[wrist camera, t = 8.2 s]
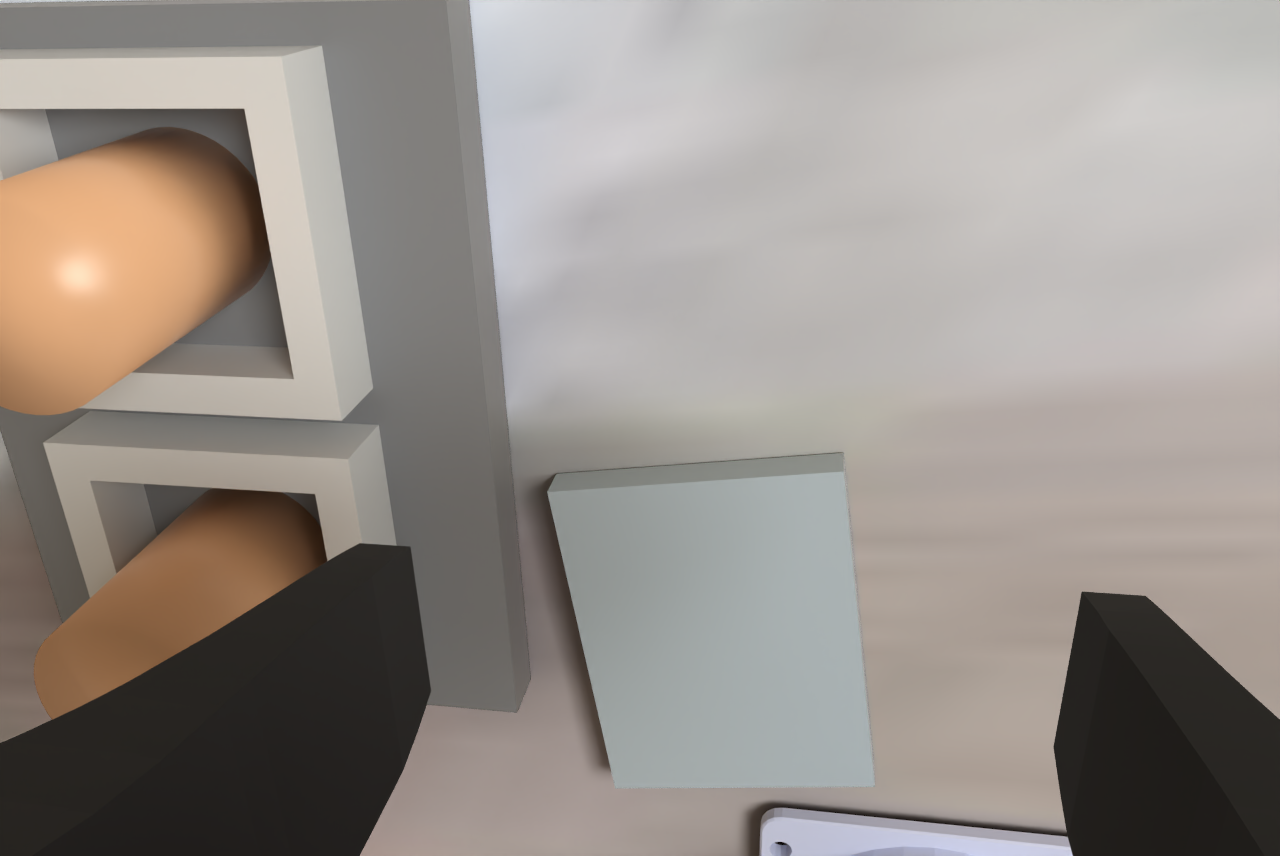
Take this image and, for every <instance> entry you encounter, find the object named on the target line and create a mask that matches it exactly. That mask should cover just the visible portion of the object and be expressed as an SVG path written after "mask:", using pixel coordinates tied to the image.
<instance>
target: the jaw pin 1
mask: <svg viewBox="0 0 1280 856" xmlns="http://www.w3.org/2000/svg"><path fill="white" fill-rule="evenodd" d="M270 258H271V251H270V246H269V240H268V235H267V229H266V224H265V219H264V213H263V208H262V202H261V197H260V191H259V186H258V184H257V182H256V181H255V179H254V177H253V176H252V175H251V173H250V172H249V171H248V170H247V168H246V167H245V166H244V165H243V164H242V163H241V162H240V161H239V159H238V158H237V157H236V156H234V155H233V154H232V153H231V152H230V151H228V150H227V149H226V148H225V147H223V146H222V145H220V144H219V143H217V142H216V141H214V140H212V139H210V138H208V137H206V136H204V135H202V134H199V133H197V132H194V131H191V130H186V129H182V128H175V127H158V128H152V129H147V130H144V131H142V132H139V133H136V134H133V135H130V136H127V137H124V138H121V139H119V140H116V141H113V142H110V143H107V144H104V145H101V146H98V147H96V148H93V149H90V150H87V151H84V152H81V153H78V154H75V155H73V156H70V157H67V158H64V159H61V160H58V161H55V162H53V163H50V164H47V165H44V166H41V167H38V168H35V169H32V170H30V171H27V172H24V173H21V174H18V175H15V176H12V177H9V178H7V179H4V180H1V181H0V406H1V407H3V408H6V409H9V410H12V411H16V412H20V413H25V414H32V415H55V414H62V413H66V412H69V411H73V410H75V409H77V408H79V407H81V406H84V405H85V404H86V403H88V402H89V401H91V400H92V399H94V398H95V397H97V396H98V395H99V394H101V393H102V392H104V391H105V390H107V389H108V388H110V387H111V386H112V385H114V384H115V383H117V382H118V381H120V380H121V379H123V378H124V377H125V376H127V375H128V374H130V373H131V372H133V371H134V370H136V369H137V368H139V367H140V366H141V365H143V364H144V363H146V362H147V361H149V360H150V359H152V358H153V357H154V356H156V355H157V354H159V353H160V352H162V351H163V350H165V349H166V348H167V347H169V346H170V345H172V344H173V343H175V342H176V341H178V340H179V339H180V338H182V337H183V336H185V335H186V334H188V333H189V332H191V331H192V330H193V329H195V328H196V327H198V326H199V325H201V324H202V323H204V322H205V321H207V320H208V319H209V318H211V317H212V316H214V315H215V314H217V313H218V312H220V311H221V310H222V309H224V308H225V307H227V306H228V305H230V304H231V303H233V302H234V301H235V300H237V299H238V298H240V297H241V296H243V295H244V294H246V293H247V292H248V291H250V290H251V289H252V288H253V287H254V286H255V285H256V284H257V283H258V282H259V280H260V279H261V277H262V276H263V274H264V272H265V270H266V269H267V267H268V264H269V261H270Z"/></svg>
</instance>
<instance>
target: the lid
mask: <svg viewBox="0 0 1280 856" xmlns="http://www.w3.org/2000/svg"><path fill="white" fill-rule="evenodd" d="M547 493H548V498H549V502H550V506H551V511H552V515H553V520H554V524H555V528H556V533H557V537H558V541H559V546H560V550H561V554H562V559H563V563H564V567H565V572H566V576H567V580H568V585H569V589H570V594H571V598H572V602H573V607H574V611H575V615H576V620H577V624H578V628H579V633H580V637H581V641H582V646H583V650H584V654H585V659H586V663H587V668H588V672H589V676H590V681H591V685H592V689H593V694H594V698H595V702H596V707H597V711H598V715H599V720H600V724H601V728H602V733H603V737H604V742H605V746H606V750H607V755H608V759H609V763H610V768H611V772H612V776H613V781H614V785H615V788H763V787H875V778H874V758H873V748H872V738H871V728H870V718H869V708H868V697H867V687H866V677H865V667H864V657H863V646H862V636H861V626H860V616H859V606H858V595H857V585H856V575H855V565H854V555H853V545H852V534H851V524H850V514H849V504H848V494H847V483H846V473H845V463H844V453H833V454H819V455H806V456H792V457H778V458H765V459H751V460H738V461H724V462H710V463H697V464H683V465H669V466H656V467H642V468H629V469H615V470H601V471H588V472H574V473H560V474H556V475H555V477H554V479H553V481H552V484H551V486H550V488H549V490H548V492H547Z"/></svg>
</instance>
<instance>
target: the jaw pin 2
mask: <svg viewBox="0 0 1280 856" xmlns="http://www.w3.org/2000/svg"><path fill="white" fill-rule="evenodd" d="M325 562H327V556H326V550H325V545H324V540H323V534H322V529H321V526H320V525H319V524H318V522H317V521H316V520H315V518H314V517H313V516H312V515H311V514H310V513H309V512H308V511H307V510H306V509H305V508H304V507H303V506H302V505H300V504H299V503H298V502H296V501H295V500H294V499H292V498H291V497H289V496H287V495H286V494H284V493H282V492H274V491H257V490H240V489H223V488H211V489H209V490H208V491H206V492H205V493H203V494H202V495H201V496H200V497H199V498H198V499H197V500H196V501H195V502H194V503H193V504H192V505H190V506H189V507H188V508H187V509H186V510H185V511H184V512H183V513H182V514H181V515H180V516H179V517H177V518H176V519H175V520H174V521H173V522H172V523H171V524H170V525H169V526H168V527H167V528H166V529H164V530H163V531H162V532H161V533H160V534H159V535H158V536H157V537H156V538H155V539H154V540H153V541H151V542H150V543H149V544H148V545H147V546H146V547H145V548H144V549H143V550H142V551H141V552H140V553H139V554H137V555H136V556H135V557H134V558H133V559H132V560H131V561H130V562H129V563H128V564H127V565H126V566H124V567H123V568H122V569H121V570H120V571H119V572H118V573H117V574H116V575H115V576H114V577H113V578H111V579H110V580H109V581H108V582H107V583H106V584H105V585H104V586H103V587H102V588H101V589H100V590H99V591H97V592H96V593H95V594H94V595H93V596H92V597H91V598H90V599H89V600H88V601H87V602H86V603H84V604H83V605H82V606H81V607H80V608H79V609H78V610H77V611H76V612H75V613H74V614H73V615H71V616H70V617H69V618H68V619H67V620H66V621H65V622H64V623H63V624H62V625H61V626H60V627H59V628H57V629H56V630H55V631H54V632H53V633H52V634H51V635H50V636H49V637H48V638H47V639H46V640H45V641H44V642H43V644H42V645H41V646H40V648H39V650H38V653H37V655H36V659H35V663H34V679H35V685H36V689H37V692H38V695H39V697H40V700H41V702H42V704H43V706H44V708H45V710H46V711H47V713H48V714H49V716H50V717H51V719H52V720H53V719H55V718H57V717H59V716H61V715H63V714H65V713H67V712H69V711H72V710H74V709H76V708H78V707H80V706H82V705H84V704H86V703H88V702H90V701H92V700H94V699H96V698H98V697H100V696H102V695H104V694H106V693H108V692H109V691H111V690H113V689H115V688H117V687H119V686H121V685H123V684H125V683H126V682H128V681H130V680H132V679H134V678H135V677H137V676H139V675H141V674H142V673H144V672H146V671H148V670H149V669H151V668H153V667H154V666H156V665H158V664H160V663H161V662H163V661H165V660H167V659H168V658H170V657H172V656H174V655H175V654H177V653H179V652H181V651H182V650H184V649H186V648H188V647H189V646H191V645H193V644H195V643H196V642H198V641H200V640H202V639H203V638H205V637H207V636H209V635H210V634H212V633H213V632H215V631H217V630H218V629H220V628H222V627H223V626H225V625H226V624H228V623H230V622H231V621H233V620H234V619H236V618H238V617H239V616H241V615H242V614H244V613H246V612H247V611H249V610H250V609H252V608H254V607H255V606H257V605H258V604H260V603H262V602H263V601H265V600H266V599H268V598H270V597H271V596H273V595H274V594H276V593H278V592H279V591H281V590H282V589H284V588H285V587H287V586H289V585H290V584H292V583H293V582H295V581H296V580H298V579H300V578H301V577H303V576H304V575H306V574H308V573H309V572H311V571H312V570H314V569H316V568H317V567H319V566H320V565H322V564H324V563H325Z"/></svg>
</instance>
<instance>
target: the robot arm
mask: <svg viewBox="0 0 1280 856" xmlns="http://www.w3.org/2000/svg"><path fill="white" fill-rule="evenodd" d="M430 693H431V686H430V679H429V672H428V665H427V658H426V651H425V644H424V637H423V630H422V623H421V616H420V609H419V602H418V595H417V588H416V581H415V574H414V567H413V560H412V553H411V547H410V546H395V545H381V544H366V543H359V544H357V545H355V546H353V547H352V548H350V549H348V550H346V551H344V552H342V553H341V554H339V555H337V556H335V557H334V558H332V559H330V560H329V561H327V562H325V563H324V564H322V565H320V566H319V567H317V568H316V569H314V570H312V571H311V572H309V573H308V574H306V575H304V576H303V577H301V578H300V579H298V580H296V581H295V582H293V583H292V584H290V585H289V586H287V587H285V588H284V589H282V590H281V591H279V592H278V593H276V594H274V595H273V596H271V597H270V598H268V599H266V600H265V601H263V602H262V603H260V604H258V605H257V606H255V607H254V608H252V609H250V610H249V611H247V612H246V613H244V614H242V615H241V616H239V617H238V618H236V619H234V620H233V621H231V622H230V623H228V624H226V625H225V626H223V627H222V628H220V629H218V630H217V631H215V632H213V633H212V634H210V635H209V636H207V637H205V638H203V639H202V640H200V641H198V642H196V643H195V644H193V645H191V646H189V647H188V648H186V649H184V650H182V651H181V652H179V653H177V654H175V655H174V656H172V657H170V658H168V659H167V660H165V661H163V662H161V663H160V664H158V665H156V666H154V667H153V668H151V669H149V670H148V671H146V672H144V673H142V674H141V675H139V676H137V677H135V678H134V679H132V680H130V681H128V682H126V683H125V684H123V685H121V686H119V687H117V688H115V689H113V690H111V691H109V692H108V693H106V694H104V695H102V696H100V697H98V698H96V699H94V700H92V701H90V702H88V703H86V704H84V705H82V706H80V707H78V708H76V709H74V710H72V711H69V712H67V713H65V714H63V715H61V716H59V717H57V718H55V719H53V720H51V721H48V722H46V723H44V724H42V725H40V726H38V727H36V728H34V729H32V730H29V731H27V732H25V733H23V734H21V735H18V736H16V737H14V738H12V739H9V740H7V741H5V742H2V743H0V856H360V854H361V852H362V850H363V848H364V846H365V844H366V842H367V840H368V838H369V836H370V835H371V833H372V831H373V829H374V827H375V825H376V823H377V821H378V819H379V817H380V815H381V813H382V811H383V809H384V807H385V805H386V803H387V801H388V799H389V797H390V795H391V794H392V792H393V790H394V788H395V786H396V784H397V782H398V779H399V777H400V775H401V773H402V771H403V769H404V767H405V764H406V761H407V759H408V756H409V753H410V751H411V748H412V745H413V743H414V740H415V737H416V735H417V732H418V729H419V726H420V723H421V720H422V717H423V714H424V711H425V708H426V705H427V702H428V699H429V696H430ZM1054 753H1055V760H1056V767H1057V773H1058V780H1059V787H1060V794H1061V800H1062V806H1063V812H1064V818H1065V824H1066V830H1067V836H1068V837H1065V836H1055V835H1045V834H1035V833H1026V832H1016V831H1006V830H996V829H987V828H977V827H967V826H957V825H947V824H938V823H928V822H918V821H908V820H899V819H889V818H879V817H869V816H859V815H850V814H840V813H830V812H820V811H811V810H801V809H791V808H773V809H771V810H768V811H767V812H766V813H765V814H764V815H763V816H762V820H761V828H760V856H1280V719H1278V718H1277V717H1276V716H1275V715H1274V714H1273V713H1272V712H1271V711H1270V710H1268V709H1267V708H1266V707H1265V706H1264V705H1263V704H1262V703H1261V702H1259V701H1258V700H1257V699H1256V698H1255V697H1254V696H1253V695H1252V694H1251V693H1250V692H1248V691H1247V690H1246V689H1245V688H1244V687H1243V686H1242V685H1241V684H1240V683H1239V682H1238V681H1237V680H1235V679H1234V678H1233V677H1232V676H1231V675H1230V674H1229V673H1228V672H1227V671H1226V670H1225V669H1224V668H1223V667H1222V666H1220V665H1219V664H1218V663H1217V662H1216V661H1215V660H1214V659H1213V658H1212V657H1211V656H1210V655H1209V654H1208V653H1207V652H1206V651H1204V650H1203V649H1202V648H1201V647H1200V646H1199V645H1198V644H1197V643H1196V642H1195V641H1194V640H1193V639H1192V638H1191V637H1190V636H1189V635H1188V634H1187V633H1185V632H1184V631H1183V630H1182V629H1181V628H1180V627H1179V626H1178V625H1177V624H1176V623H1175V622H1174V621H1173V620H1172V619H1171V618H1170V617H1169V616H1167V615H1166V614H1165V613H1164V612H1163V611H1162V610H1161V609H1160V608H1159V607H1158V606H1156V605H1155V604H1154V603H1153V602H1152V601H1151V600H1150V599H1149V598H1147V597H1146V596H1139V595H1124V594H1109V593H1094V592H1082V594H1081V600H1080V605H1079V611H1078V616H1077V621H1076V627H1075V632H1074V638H1073V643H1072V649H1071V654H1070V660H1069V665H1068V671H1067V676H1066V682H1065V687H1064V693H1063V698H1062V704H1061V709H1060V715H1059V720H1058V726H1057V731H1056V737H1055V742H1054ZM775 842H784V843H787V845H779V844H776V843H775Z"/></svg>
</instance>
